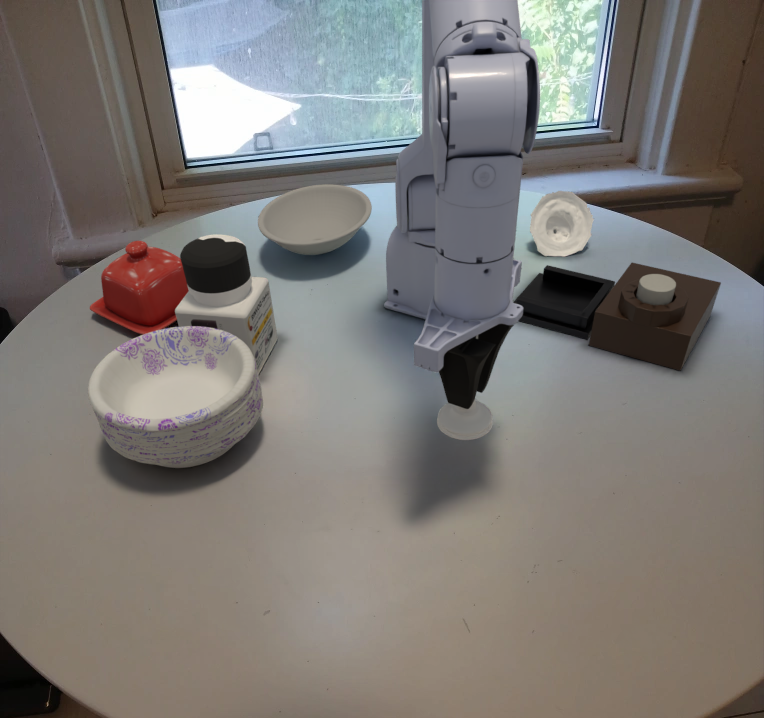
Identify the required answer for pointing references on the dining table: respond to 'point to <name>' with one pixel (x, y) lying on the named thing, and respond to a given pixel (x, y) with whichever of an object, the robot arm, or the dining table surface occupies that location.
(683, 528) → the dining table surface
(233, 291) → the container
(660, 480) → the dining table surface
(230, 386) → the paper bowls
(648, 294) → the button
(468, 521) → the dining table surface
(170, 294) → the butter dish
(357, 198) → the dish
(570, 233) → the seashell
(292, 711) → the dining table surface
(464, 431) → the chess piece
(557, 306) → the pan
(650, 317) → the brown push button box
